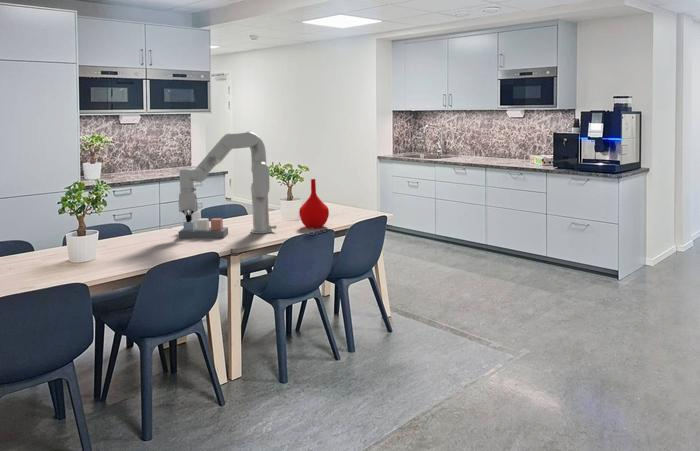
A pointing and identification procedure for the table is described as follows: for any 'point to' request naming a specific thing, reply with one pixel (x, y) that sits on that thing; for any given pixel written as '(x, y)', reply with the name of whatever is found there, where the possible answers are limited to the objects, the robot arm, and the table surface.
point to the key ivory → (203, 224)
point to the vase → (314, 210)
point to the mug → (195, 216)
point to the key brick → (216, 224)
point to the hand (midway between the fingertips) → (189, 221)
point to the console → (203, 233)
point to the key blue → (189, 226)
